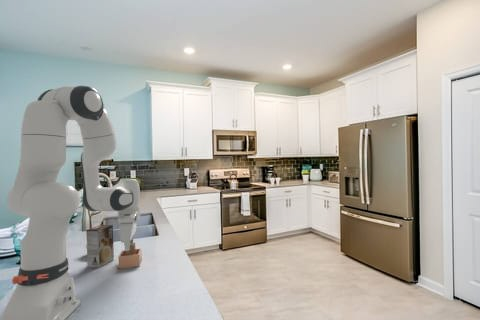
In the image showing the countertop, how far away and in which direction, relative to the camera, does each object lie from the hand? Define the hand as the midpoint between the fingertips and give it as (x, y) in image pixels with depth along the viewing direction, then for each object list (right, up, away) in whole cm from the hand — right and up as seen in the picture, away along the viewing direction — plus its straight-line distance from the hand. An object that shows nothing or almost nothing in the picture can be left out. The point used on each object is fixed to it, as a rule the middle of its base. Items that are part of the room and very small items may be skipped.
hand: (129, 247), depth 112 cm
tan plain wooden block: (0, -7, +1) cm, 7 cm away
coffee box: (-13, -8, +2) cm, 16 cm away
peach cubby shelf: (0, -8, +1) cm, 8 cm away
